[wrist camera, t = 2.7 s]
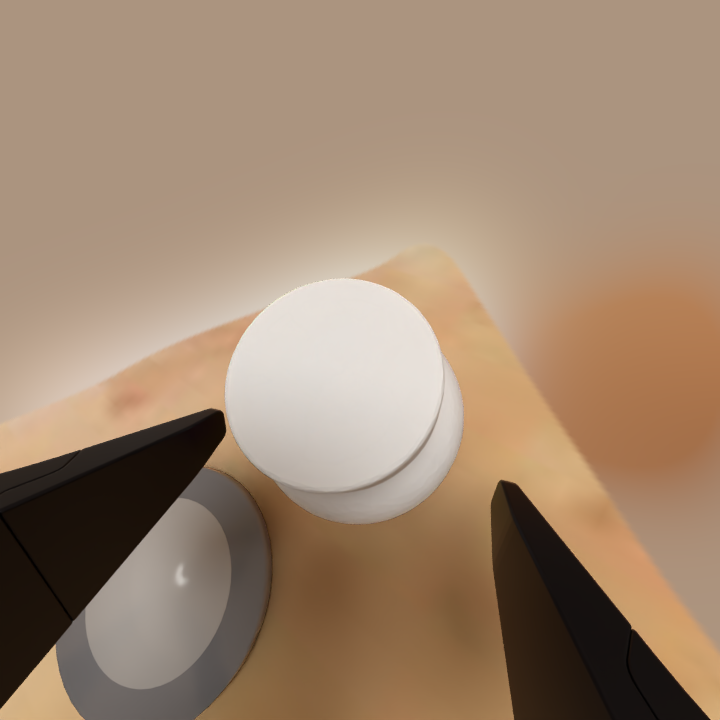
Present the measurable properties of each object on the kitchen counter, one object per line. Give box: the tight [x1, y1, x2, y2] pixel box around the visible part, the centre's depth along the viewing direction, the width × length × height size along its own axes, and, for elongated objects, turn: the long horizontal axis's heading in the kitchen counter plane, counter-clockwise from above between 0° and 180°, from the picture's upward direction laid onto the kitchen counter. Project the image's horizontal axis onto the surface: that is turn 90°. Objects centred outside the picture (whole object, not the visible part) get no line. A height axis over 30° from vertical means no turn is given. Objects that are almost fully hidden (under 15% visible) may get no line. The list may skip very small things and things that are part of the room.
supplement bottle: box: [225, 278, 464, 525], centre depth 12 cm, size 7×7×13 cm
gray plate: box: [56, 467, 272, 720], centre depth 16 cm, size 12×12×1 cm
